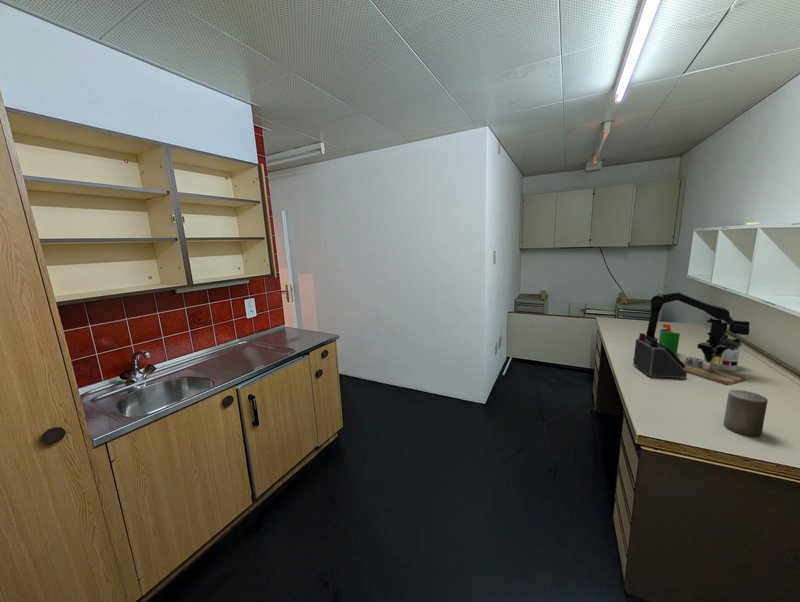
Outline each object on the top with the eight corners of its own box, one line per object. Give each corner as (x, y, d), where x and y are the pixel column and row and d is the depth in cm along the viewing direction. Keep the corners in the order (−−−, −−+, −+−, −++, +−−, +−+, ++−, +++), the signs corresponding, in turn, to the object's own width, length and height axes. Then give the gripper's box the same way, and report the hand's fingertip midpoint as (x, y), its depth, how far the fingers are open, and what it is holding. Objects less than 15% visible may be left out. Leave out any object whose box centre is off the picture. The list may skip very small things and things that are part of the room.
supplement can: (718, 369, 166) (722, 343, 163) (712, 364, 173) (716, 338, 170) (739, 372, 162) (744, 345, 159) (732, 366, 169) (736, 340, 166)
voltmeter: (686, 380, 155) (692, 342, 151) (649, 378, 158) (654, 341, 155) (666, 367, 170) (671, 333, 167) (632, 366, 174) (636, 332, 170)
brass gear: (719, 365, 155) (720, 358, 154) (701, 361, 161) (703, 354, 160) (724, 362, 158) (725, 355, 158) (706, 358, 164) (708, 351, 163)
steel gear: (697, 369, 163) (698, 362, 163) (682, 365, 169) (683, 358, 169) (705, 367, 165) (706, 360, 165) (690, 363, 172) (691, 356, 171)
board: (727, 385, 148) (729, 373, 147) (669, 367, 170) (671, 357, 169) (746, 379, 153) (748, 368, 152) (688, 363, 176) (689, 353, 175)
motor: (681, 358, 182) (686, 326, 179) (666, 359, 183) (670, 326, 179) (667, 352, 192) (671, 321, 189) (652, 353, 192) (656, 322, 189)
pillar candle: (768, 439, 108) (776, 400, 106) (732, 434, 112) (739, 395, 109) (750, 424, 117) (757, 388, 115) (716, 420, 121) (722, 384, 118)
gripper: (728, 338, 146) (722, 369, 149) (750, 333, 152) (744, 363, 155) (699, 332, 156) (694, 361, 159) (721, 328, 162) (716, 356, 165)
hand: (713, 360), depth 159 cm, fingers closed on brass gear, 7 cm apart
